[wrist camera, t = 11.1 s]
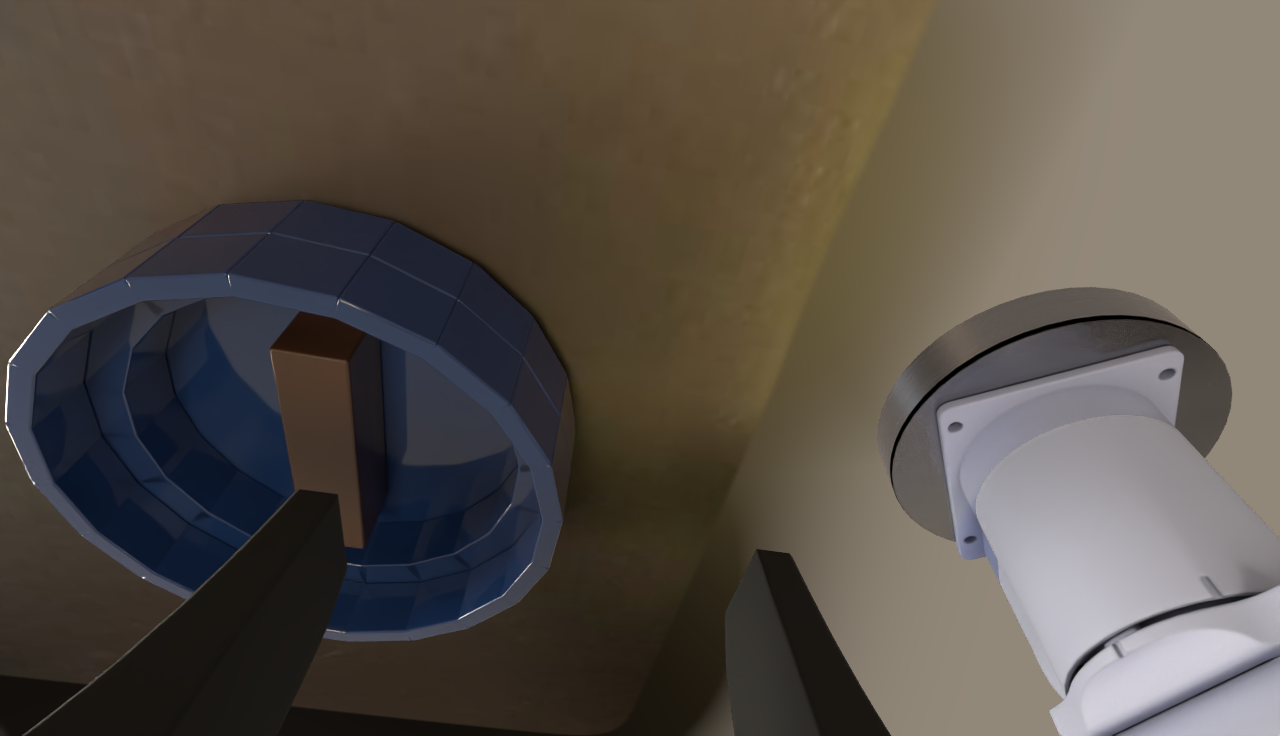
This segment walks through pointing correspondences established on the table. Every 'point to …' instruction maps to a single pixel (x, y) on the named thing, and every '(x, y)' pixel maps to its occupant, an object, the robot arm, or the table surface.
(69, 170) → the table surface
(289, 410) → the brown rectangular bar
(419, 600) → the bowl
